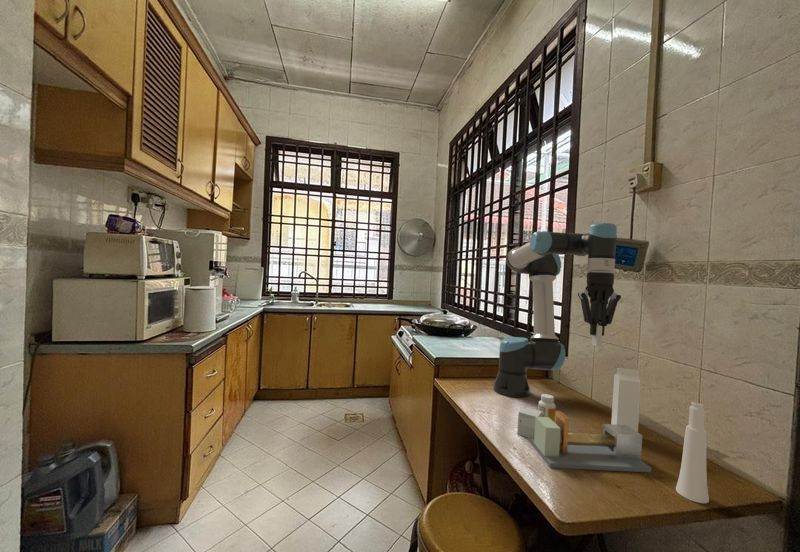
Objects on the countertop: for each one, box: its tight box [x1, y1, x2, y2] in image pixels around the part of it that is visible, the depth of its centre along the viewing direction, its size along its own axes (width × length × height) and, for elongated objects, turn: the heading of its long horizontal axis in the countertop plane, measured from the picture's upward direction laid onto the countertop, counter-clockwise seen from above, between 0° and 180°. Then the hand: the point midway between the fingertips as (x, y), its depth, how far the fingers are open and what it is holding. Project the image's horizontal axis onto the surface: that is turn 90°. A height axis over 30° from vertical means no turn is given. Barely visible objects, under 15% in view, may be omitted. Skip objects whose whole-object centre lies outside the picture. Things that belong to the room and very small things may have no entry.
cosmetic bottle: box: [675, 401, 710, 504], centre depth 80 cm, size 6×6×22 cm
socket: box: [534, 417, 561, 457], centre depth 96 cm, size 7×4×8 cm, turn 1°
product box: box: [516, 406, 542, 439], centre depth 108 cm, size 6×6×7 cm
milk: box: [610, 367, 642, 433], centre depth 111 cm, size 6×6×22 cm
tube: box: [555, 410, 614, 454], centre depth 96 cm, size 5×20×10 cm, turn 91°
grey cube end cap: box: [602, 423, 643, 460], centre depth 96 cm, size 6×7×7 cm
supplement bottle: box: [537, 393, 557, 423], centre depth 116 cm, size 5×5×10 cm
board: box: [528, 437, 652, 473], centre depth 96 cm, size 14×27×1 cm, turn 91°
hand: (596, 345), depth 108 cm, fingers closed
